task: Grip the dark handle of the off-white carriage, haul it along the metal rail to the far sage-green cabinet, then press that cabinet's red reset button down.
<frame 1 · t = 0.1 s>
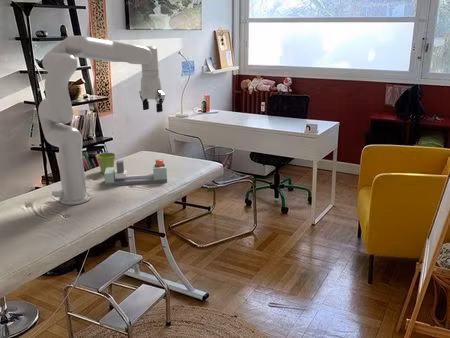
hand: (152, 110, 211), 31 cm above the table, tool pointing down, fingers open, 9 cm apart
reset button: (159, 163, 209), point 8 cm above the table, slide at 0.0 cm
plant pot: (107, 171, 224), on the table
carriage: (120, 168, 207), point 6 cm above the table, slide at 0.0 cm
rail track: (136, 180, 210), on the table
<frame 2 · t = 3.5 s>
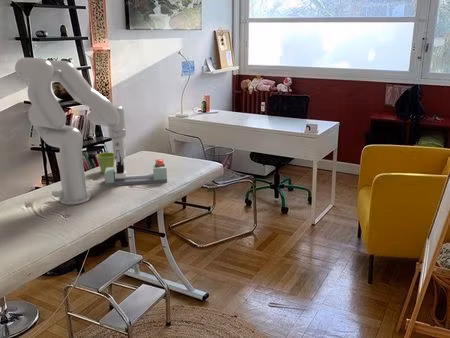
hand: (120, 171, 207), 5 cm above the table, tool pointing down, fingers closed on carriage, 3 cm apart
carriage: (120, 168, 207), point 6 cm above the table, slide at 0.0 cm, touching gripper
everything else where it was.
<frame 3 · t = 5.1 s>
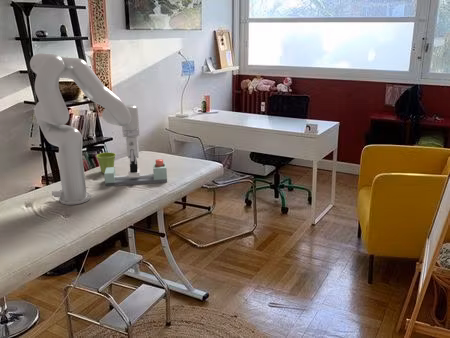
hand: (134, 170, 208), 5 cm above the table, tool pointing down, fingers closed on carriage, 3 cm apart
carriage: (133, 168, 207), point 6 cm above the table, slide at 6.1 cm, touching gripper
everything else where it was.
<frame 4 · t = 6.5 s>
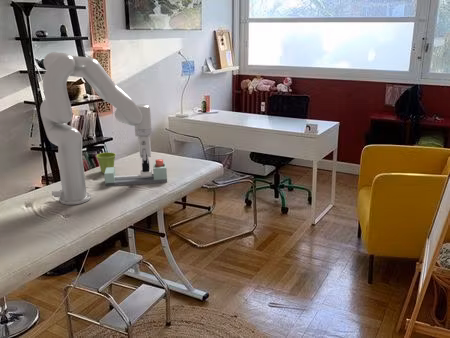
hand: (146, 169, 209), 5 cm above the table, tool pointing down, fingers closed on carriage, 3 cm apart
carriage: (145, 167, 208), point 6 cm above the table, slide at 11.7 cm, touching gripper
everything else where it was.
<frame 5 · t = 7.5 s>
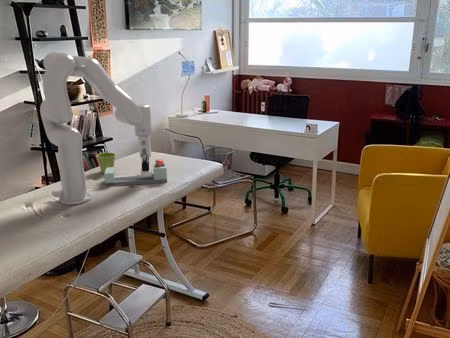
hand: (145, 167, 208), 6 cm above the table, tool pointing down, fingers open, 9 cm apart
carriage: (145, 167, 208), point 6 cm above the table, slide at 11.7 cm
everything else where it was.
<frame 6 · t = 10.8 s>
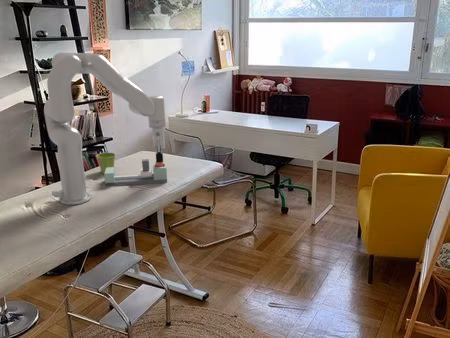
hand: (159, 161, 209), 9 cm above the table, tool pointing down, fingers closed
reset button: (159, 164, 209), point 7 cm above the table, slide at 0.7 cm, touching gripper
everything else where it was.
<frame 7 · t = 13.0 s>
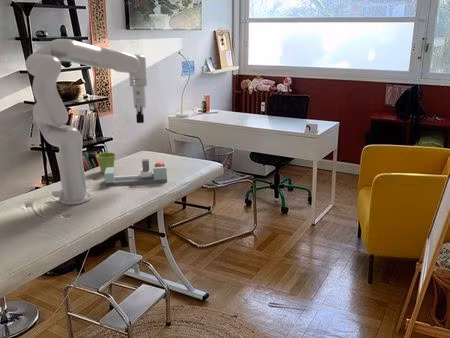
hand: (140, 122, 207), 27 cm above the table, tool pointing down, fingers closed
reset button: (159, 166, 209), point 7 cm above the table, slide at 1.5 cm
everything else where it was.
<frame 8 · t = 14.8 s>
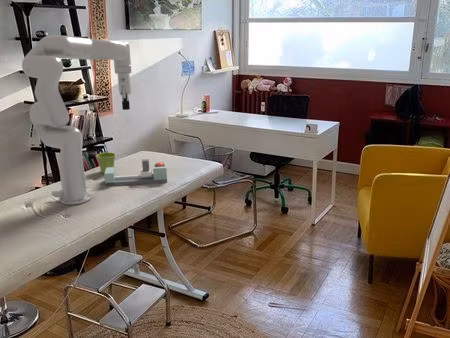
hand: (126, 109, 209), 32 cm above the table, tool pointing down, fingers closed
nothing on the table moved.
at the end: carriage slide at 11.7 cm; reset button slide at 1.5 cm; the gripper is holding nothing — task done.
